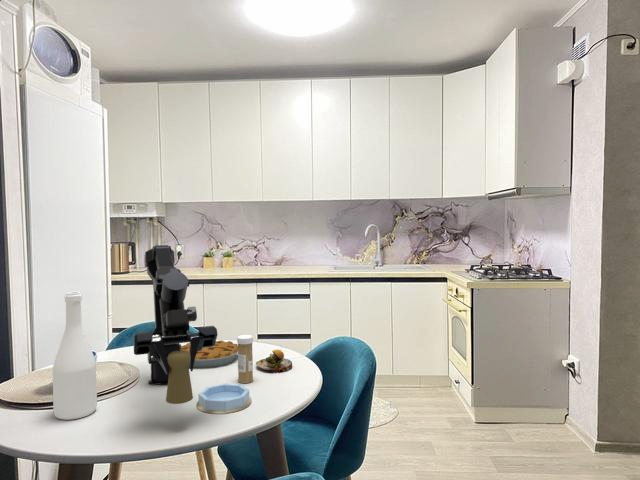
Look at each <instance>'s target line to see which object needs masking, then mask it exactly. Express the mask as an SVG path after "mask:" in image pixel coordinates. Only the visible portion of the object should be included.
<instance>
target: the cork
mask: <svg viewBox="0 0 640 480" xmlns="http://www.w3.org/2000/svg"><path fill="white" fill-rule="evenodd" d="M190 361H191V356H190V354H189V352H187V351H183V350H179V351H173V352H171V353H170V354H169V355H168V358H167V363H168V365H169V366H170V370H169V378H168V385H166V386H167V387H166V395H165V402H166V403H168V404H172V405H179V404H180V405H181V404H186V403H188V402H190V401H192V400H193V399H194V395H193V388H192V382H191V373H190V367H188V365H189V363H190Z"/></svg>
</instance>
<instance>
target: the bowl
mask: <svg viewBox="0 0 640 480" xmlns="http://www.w3.org/2000/svg"><path fill="white" fill-rule="evenodd" d="M249 396H250V389H249V388H247V387H245V386H244V385H242V384H237V383H235V384H234V383H221V384H215V385H212V386H211V385H210V386H207V387H205V388H204V389H203V390H202V391H200V392H199V393H198V400H199V404H200V405H201V406H202V407H203V408H204V409H205V410H212V411H229V410H233V409H237V408H240V407H244V405H245V404H246V403H247V402H248V401H249Z"/></svg>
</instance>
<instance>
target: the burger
mask: <svg viewBox="0 0 640 480" xmlns="http://www.w3.org/2000/svg"><path fill="white" fill-rule="evenodd" d="M282 347H283V346H281V347H280V348H281V349H282ZM281 349H273V350H272V353H270V354H269V356H268V357H266V358H263V359H259V360H258V361H256V362H255V365H256V366H257V367H258V368H259V369H262V370H266V371H271V372H272V374H279V373H280V371H281V370H282V372H288V371H289V370H292V368H293V362H292V361H291V360H290V359H288V358H285V354H284V352H283V351H282V350H281Z"/></svg>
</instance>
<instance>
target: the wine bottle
mask: <svg viewBox="0 0 640 480" xmlns="http://www.w3.org/2000/svg"><path fill="white" fill-rule="evenodd" d="M82 297H83V296H82V294H81V291H68V292H65V294H64V303H65V328H64V333H63V335H62V339H61V341H60V345H59V348H58V350H57V353H56V355H55V358H54V362H53V366H52V401H53V403H52V404H53V405H52V406H53V409H52V410H53V415H54V417H55V418H56V419H59V420H65V421H66V420H67V421H69V420H71V421H72V420H78V419H81V418H84V417H87V416H90V415H91V414H93V413H94V412H95V411H96V409H97V407H98V399H97V398H98V391H97V389H98V386H97V385H98V383H97V382H98V381H97V380H98V379H97V361H96V358H95V355H94V353H93V351H92V348H91V346H90V343H89V341H88V339H87V335H86V333H85V330H84V327H83V323H82V305H81V304H82V303H81V302H82V301H83V300H82Z"/></svg>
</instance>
